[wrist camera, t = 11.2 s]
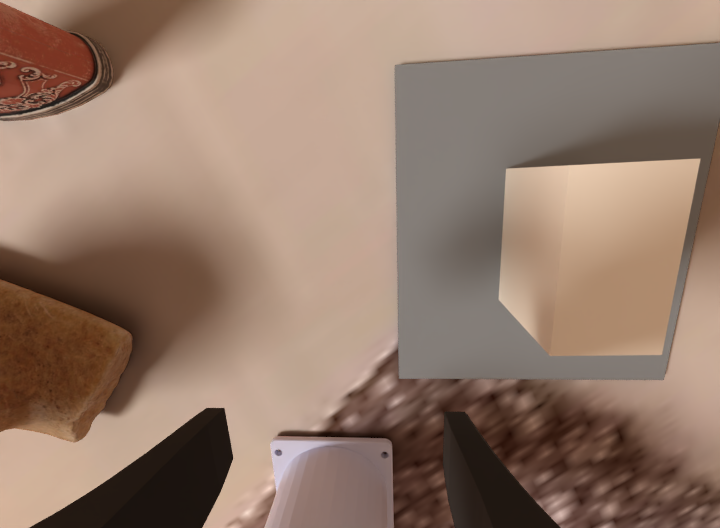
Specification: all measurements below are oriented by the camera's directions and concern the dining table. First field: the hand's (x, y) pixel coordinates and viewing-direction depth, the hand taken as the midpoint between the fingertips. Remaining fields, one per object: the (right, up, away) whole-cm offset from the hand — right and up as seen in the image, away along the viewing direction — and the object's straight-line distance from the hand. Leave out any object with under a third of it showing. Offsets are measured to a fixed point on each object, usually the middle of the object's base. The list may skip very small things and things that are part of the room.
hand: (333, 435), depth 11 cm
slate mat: (+10, +7, +7) cm, 14 cm away
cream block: (+10, +7, +7) cm, 14 cm away
